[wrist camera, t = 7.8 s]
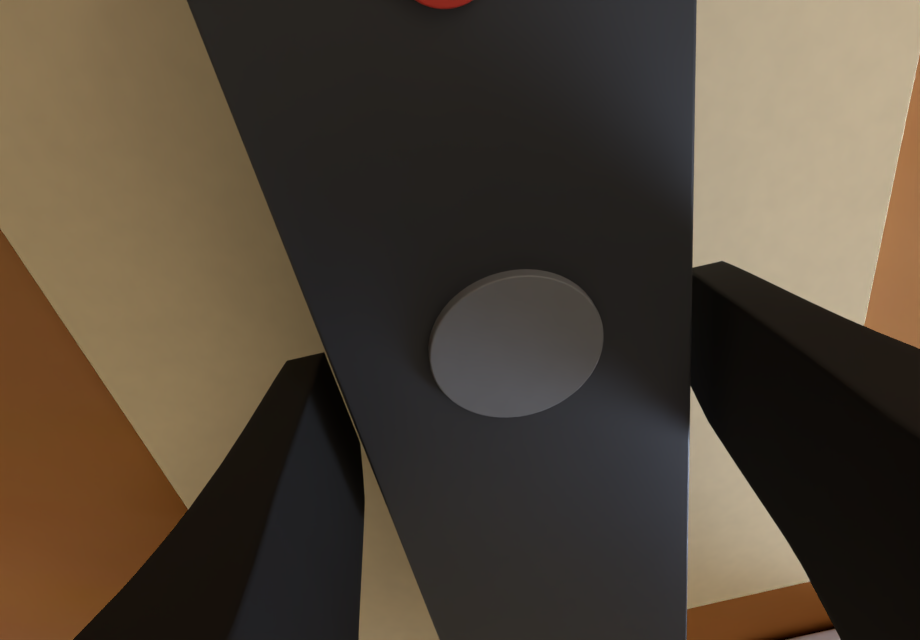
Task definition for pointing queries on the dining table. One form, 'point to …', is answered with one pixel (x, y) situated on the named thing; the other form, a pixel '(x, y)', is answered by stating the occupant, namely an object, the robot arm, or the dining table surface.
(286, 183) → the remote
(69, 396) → the dining table surface
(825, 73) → the placemat
